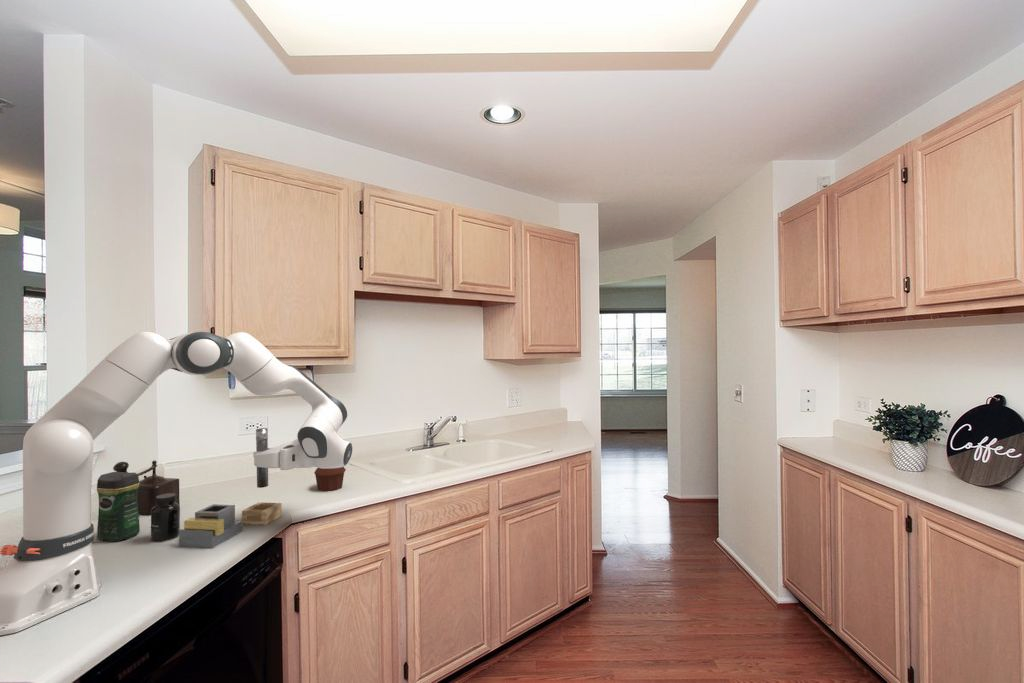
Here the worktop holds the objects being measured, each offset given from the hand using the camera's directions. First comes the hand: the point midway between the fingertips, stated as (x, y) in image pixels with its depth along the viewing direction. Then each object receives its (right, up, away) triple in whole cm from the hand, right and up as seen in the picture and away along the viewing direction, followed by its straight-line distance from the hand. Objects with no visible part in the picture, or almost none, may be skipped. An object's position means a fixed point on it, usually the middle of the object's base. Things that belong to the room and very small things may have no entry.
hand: (259, 452), depth 154 cm
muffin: (+10, -21, +33) cm, 40 cm away
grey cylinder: (+1, -10, 0) cm, 11 cm away
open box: (+1, -21, 0) cm, 21 cm away
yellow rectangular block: (-5, -18, -19) cm, 27 cm away
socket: (-6, -21, -15) cm, 26 cm away
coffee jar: (-34, -21, -13) cm, 42 cm away
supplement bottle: (-20, -21, -14) cm, 32 cm away
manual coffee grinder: (-41, -22, +7) cm, 47 cm away
